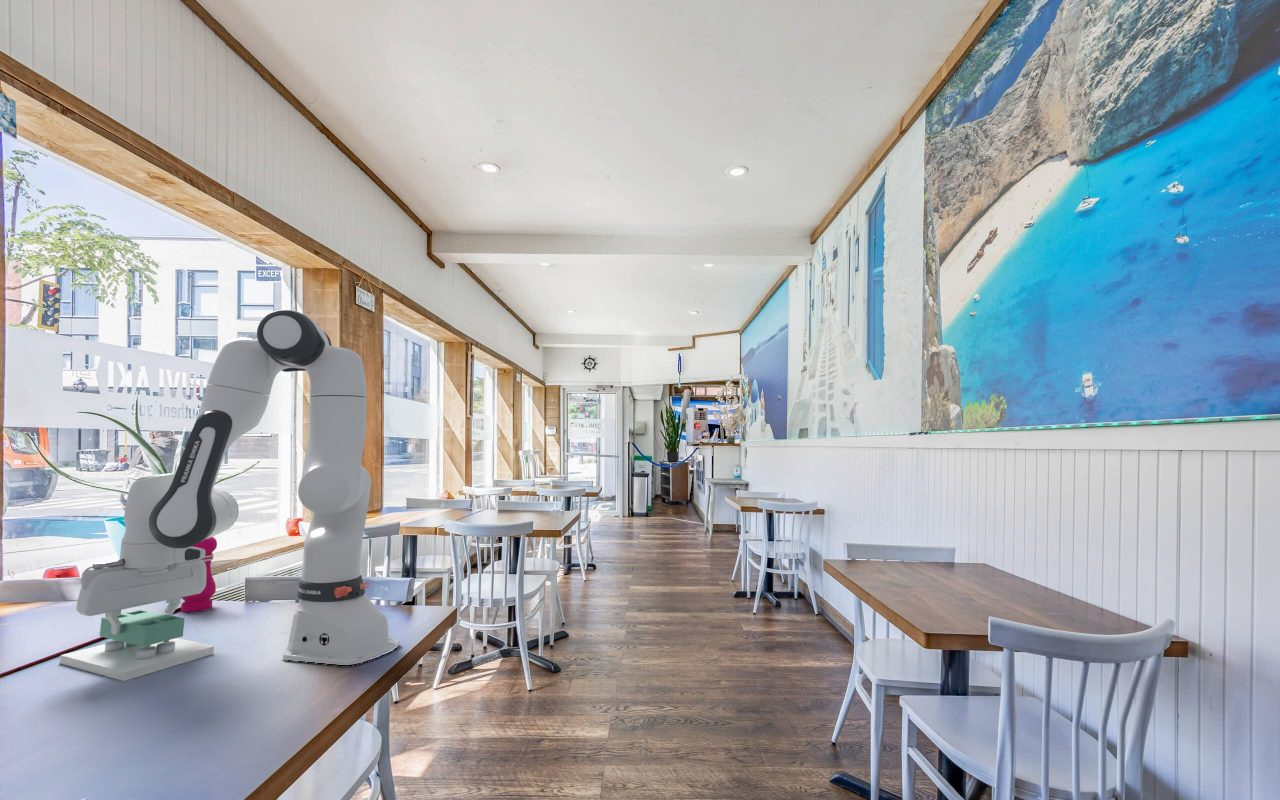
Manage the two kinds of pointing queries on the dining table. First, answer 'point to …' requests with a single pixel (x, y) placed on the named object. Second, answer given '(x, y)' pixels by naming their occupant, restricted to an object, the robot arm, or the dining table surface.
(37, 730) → the dining table surface
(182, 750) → the dining table surface
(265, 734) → the dining table surface
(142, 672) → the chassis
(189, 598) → the pepper mill
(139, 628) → the green block with holes
